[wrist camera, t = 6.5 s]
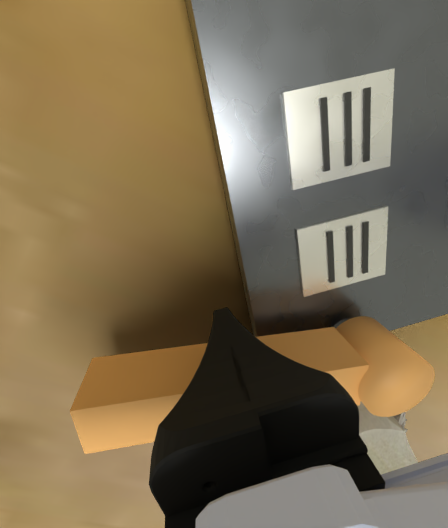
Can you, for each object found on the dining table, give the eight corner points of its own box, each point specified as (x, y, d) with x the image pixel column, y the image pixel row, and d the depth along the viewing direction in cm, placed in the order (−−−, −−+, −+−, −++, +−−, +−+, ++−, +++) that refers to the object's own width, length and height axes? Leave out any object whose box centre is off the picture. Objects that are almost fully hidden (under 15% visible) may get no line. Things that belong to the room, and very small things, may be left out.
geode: (299, 304, 23) (179, 424, 23) (358, 329, 14) (156, 534, 13) (427, 437, 24) (312, 558, 23) (567, 547, 14) (380, 756, 14)
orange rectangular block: (387, 312, 15) (444, 354, 12) (375, 361, 16) (423, 410, 13) (90, 349, 13) (61, 413, 10) (104, 402, 14) (83, 474, 11)
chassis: (476, -67, 11) (542, -117, 9) (429, 301, 19) (459, 319, 17) (182, -14, 10) (183, -56, 8) (256, 351, 18) (267, 376, 16)
